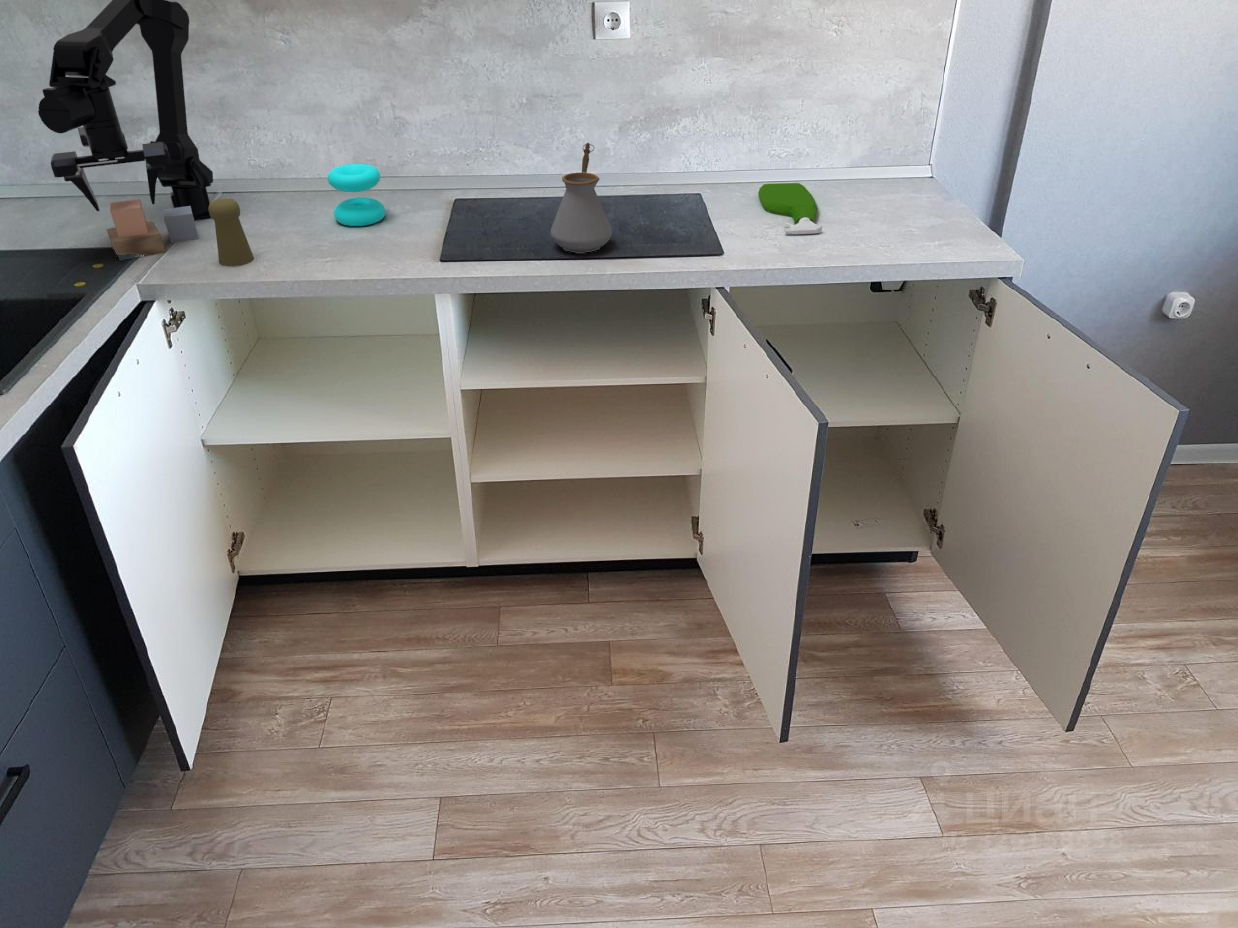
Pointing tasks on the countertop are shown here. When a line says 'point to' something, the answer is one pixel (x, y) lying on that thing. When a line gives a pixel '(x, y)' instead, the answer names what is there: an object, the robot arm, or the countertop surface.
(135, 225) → the terracotta cube
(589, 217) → the coffee pot
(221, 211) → the olive pawn
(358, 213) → the donuts
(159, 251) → the walnut base block
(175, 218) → the slate grey cube
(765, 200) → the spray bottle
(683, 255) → the countertop surface
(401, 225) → the countertop surface
